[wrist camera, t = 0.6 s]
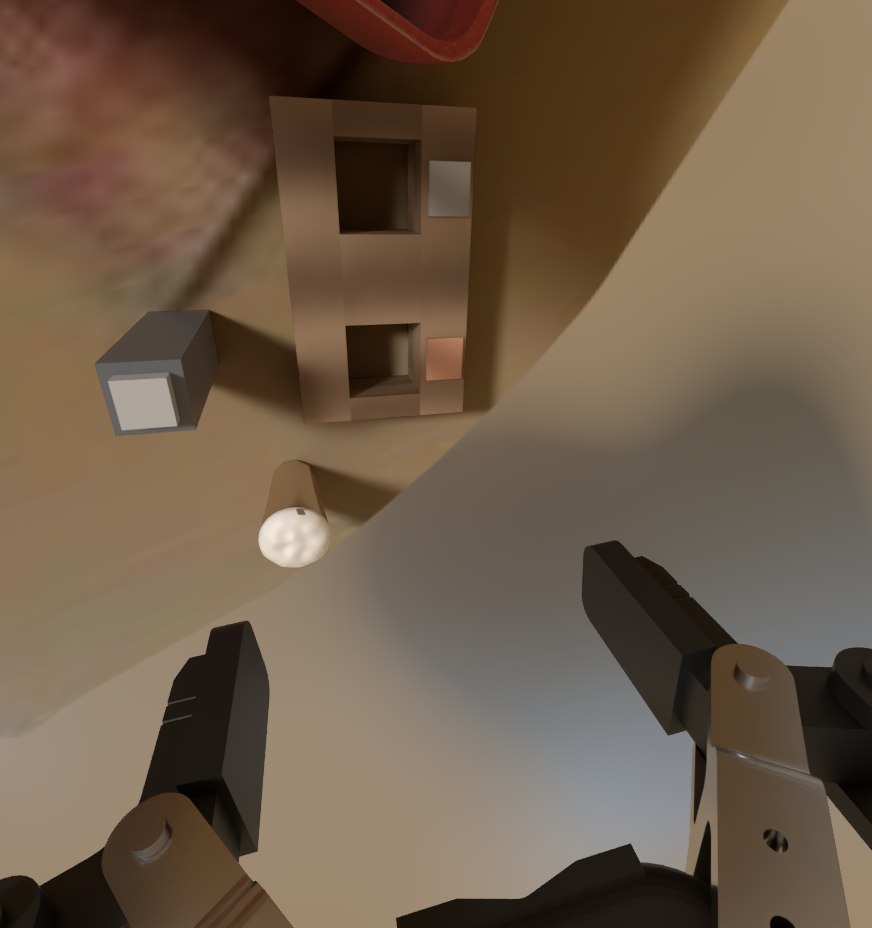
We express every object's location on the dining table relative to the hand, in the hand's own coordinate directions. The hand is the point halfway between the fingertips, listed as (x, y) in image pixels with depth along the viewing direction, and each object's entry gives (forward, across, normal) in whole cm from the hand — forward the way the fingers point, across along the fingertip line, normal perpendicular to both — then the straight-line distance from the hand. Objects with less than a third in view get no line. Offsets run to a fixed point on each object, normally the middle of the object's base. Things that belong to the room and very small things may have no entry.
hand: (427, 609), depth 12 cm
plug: (+28, +10, -2) cm, 30 cm away
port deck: (+28, -2, -4) cm, 28 cm away
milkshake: (+28, +6, +10) cm, 31 cm away
